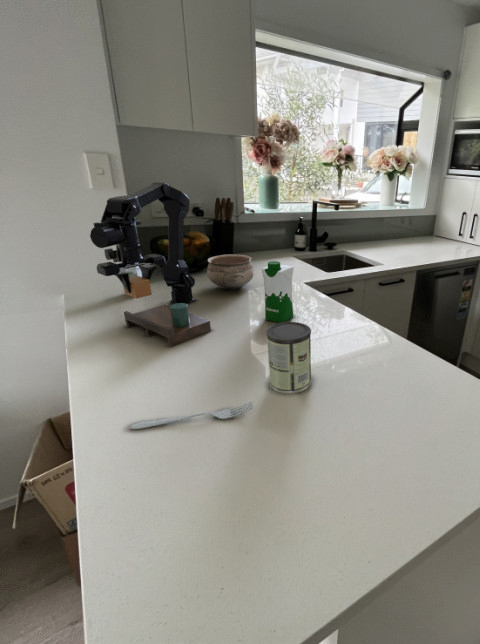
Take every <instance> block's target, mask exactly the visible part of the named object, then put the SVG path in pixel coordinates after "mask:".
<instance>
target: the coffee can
mask: <svg viewBox="0 0 480 644" xmlns="http://www.w3.org/2000/svg"><path fill="white" fill-rule="evenodd" d="M265 333H266V340H267V355H268V356H267V357H268V372H269V373H268V374H269V386H270V388H271V389H272V390H273V391H275V392H276V393H280V394H291V395H292V394H298V393H300V392H303V391H306V390H307V389H308V388H309V387H310V386H311V384H312V355H311V354H312V353H311V347H312V345H311V340H312V339H311V335H312V329H311V327H310V326H309V325H307V324H305V323H302V322H297V321H286V322H283V323H278V322H277V323H275V324H272V325H270V326H269V327H267V329H266V331H265Z"/></svg>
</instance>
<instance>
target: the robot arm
mask: <svg viewBox="0 0 480 644" xmlns="http://www.w3.org/2000/svg"><path fill="white" fill-rule="evenodd" d="M157 200H158V202H160V203H161V204H162V207H163V210H164V212H165V215H166V216H167V217H168V259H167V261H166V258H165V256H163V255H162V254H157V253H150V254H146V255H144V256H142V251H141V249H143V245H142V244H141V243H140V240H139V235H138V228H137V226H139V225H141V224H142V222H141V221H140V220H139V219H137V218H136V217H137V216H139V215H140V214H141V212H142V209H143V208H144V207H146V206H148V205H150V204H152V203H153V202H155V201H157ZM190 204H191V201H190V198H189V196H188V195H187V193H185V192H182V191H181V190H179V189H177V188H174V187H173V186H171V185H170V184H168V183H166V182H158V181H155V182H153V183H151V184H150V185H148V186H145V187H143V188H141V189H139V190H137V191H135V192H133V193H131V194H128V195H119V196H113V197H109V198H108V199H107V200H106V204H105V207H104V211H103V213H102V216H101V219H100V222H93V227H92V228H91V230H90V234H89V237H90V241H91V242H92V244H93V245H94V246H95V247H97V248H99V249H104V248H105V249H104V250H103V251H104V256H105V259H106V260H107V261H106V262H101V263H100V262H99V263H98V264H97V265H96V270H97V271H96V272H97V274H99V275H102V276H103V277H111V276H115V277H117V279H118V280H119V281H120V283H121V284H122V287H123V286H124V287H125V289H126V290H127V292H128V293H131V287H130V281H129V274H128V273H126V272H125V269H127V268H132V267H137V266H139V268H140V270H141V273H142V277H143V278H146V279H149V282H150V281H151V278H152V276H153V274H154V272H155V270H157V268H158V267H160V266H162V267H161V268H162V272H161V275H162V277H163V278H162V279H163V280H164V282H165V284H166V286H167V287H170V288H171V291H170V294H171V300H170V302H172V303H173V304H176V303H186V304H187V305H188V304H190V303H193V302H197V301H196V299H195V298H194V297H193V296H194V295H193V289H192V288H194V286H196V285H195V284H196V279H195V278H194V277H193V276H192V275H191V274H190V273H189V272H190V271H189V267H188V265H187V263H186V261H185V258H184V256H185V254H184V251H185V248H184V247H185V246H184V245H185V218H186V217H187V215H188V214H189V212H190ZM113 246H115V248H116V249H115V250H114V249H113V248H112V247H113ZM108 247H109V248H108ZM110 247H111V248H110ZM142 257H143V258H142ZM111 260H112V261H111ZM121 262H122V263H121ZM135 263H137V264H135ZM130 264H131V265H130ZM124 287H123V288H124Z"/></svg>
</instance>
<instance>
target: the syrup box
mask: <svg viewBox="0 0 480 644" xmlns="http://www.w3.org/2000/svg"><path fill="white" fill-rule="evenodd" d="M142 258H144V256H142ZM120 263H122V262H120ZM135 264H137V263H135ZM130 265H131V264H130ZM125 272H126V273H128V274H129V277H134V276H140V277H142V273H141V270H140V268H139V266H137V267H132V268H127V269H125Z"/></svg>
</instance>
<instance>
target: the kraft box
mask: <svg viewBox="0 0 480 644" xmlns="http://www.w3.org/2000/svg"><path fill="white" fill-rule="evenodd" d="M129 281H130V287H131V293H128V292H127V290H126V289H125V287H124V286H123V285H122V287H123V291H124V292H123V293H124V295H126V296H129V297H131V298H134V299H137V300H138V299H141V298H145V297H147V296H148V297H149V296H152V294H153V293H152V289H151V283H150V282H149V279H146V278H143V277H140V276H134V277H129Z"/></svg>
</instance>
